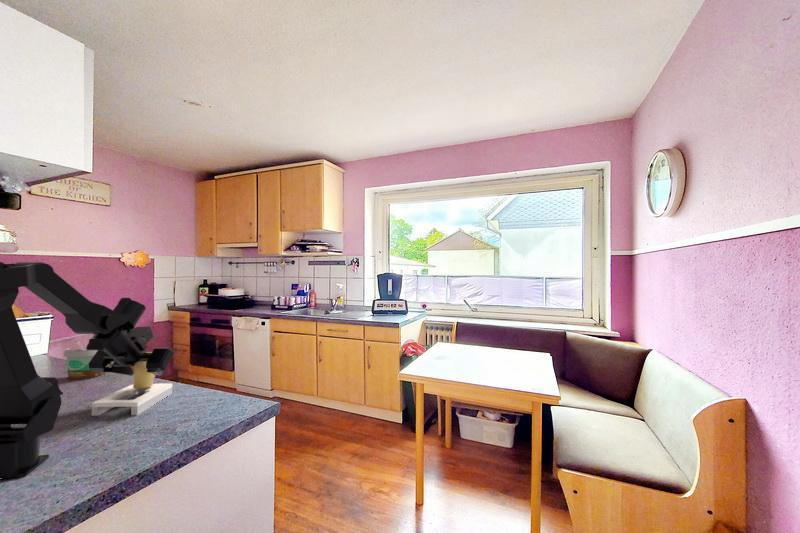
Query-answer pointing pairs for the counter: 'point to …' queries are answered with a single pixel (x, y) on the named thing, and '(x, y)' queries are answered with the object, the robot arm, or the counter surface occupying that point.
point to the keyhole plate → (137, 405)
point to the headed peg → (141, 379)
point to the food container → (80, 364)
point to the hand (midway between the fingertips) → (147, 374)
